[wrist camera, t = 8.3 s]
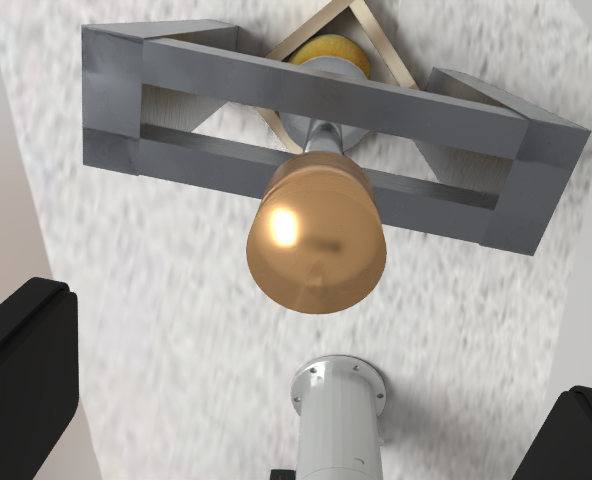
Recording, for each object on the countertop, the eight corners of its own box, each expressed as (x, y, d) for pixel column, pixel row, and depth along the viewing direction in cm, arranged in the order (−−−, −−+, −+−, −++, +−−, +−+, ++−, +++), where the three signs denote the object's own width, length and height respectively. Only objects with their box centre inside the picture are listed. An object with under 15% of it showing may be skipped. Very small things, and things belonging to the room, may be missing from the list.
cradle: (417, 89, 46) (422, 93, 44) (308, 167, 51) (307, 174, 48) (351, -16, 43) (352, -17, 41) (240, 78, 47) (235, 81, 45)
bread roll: (372, 36, 45) (376, 38, 41) (360, 130, 49) (362, 140, 45) (286, 29, 45) (282, 31, 42) (280, 124, 49) (276, 132, 45)
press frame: (440, 143, 48) (533, 256, 26) (200, 94, 48) (83, 164, 26) (463, 73, 45) (591, 130, 23) (207, 19, 45) (81, 24, 22)
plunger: (360, 157, 38) (400, 372, 15) (274, 140, 37) (184, 329, 15) (383, 66, 35) (478, 163, 12) (289, 46, 34) (207, 108, 12)
